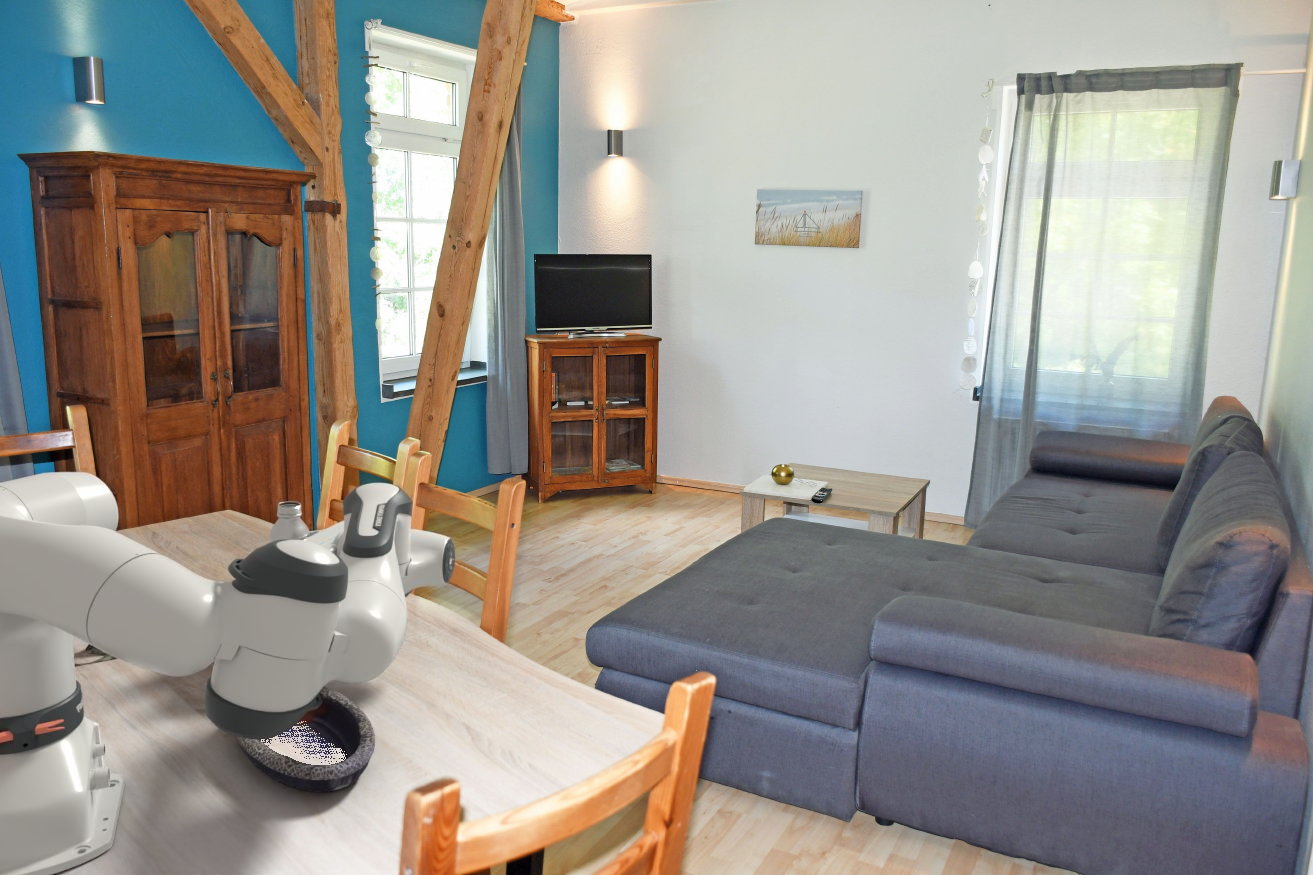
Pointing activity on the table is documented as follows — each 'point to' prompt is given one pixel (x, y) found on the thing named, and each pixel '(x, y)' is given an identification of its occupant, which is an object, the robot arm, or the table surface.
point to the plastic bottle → (289, 523)
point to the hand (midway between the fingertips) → (284, 543)
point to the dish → (336, 726)
